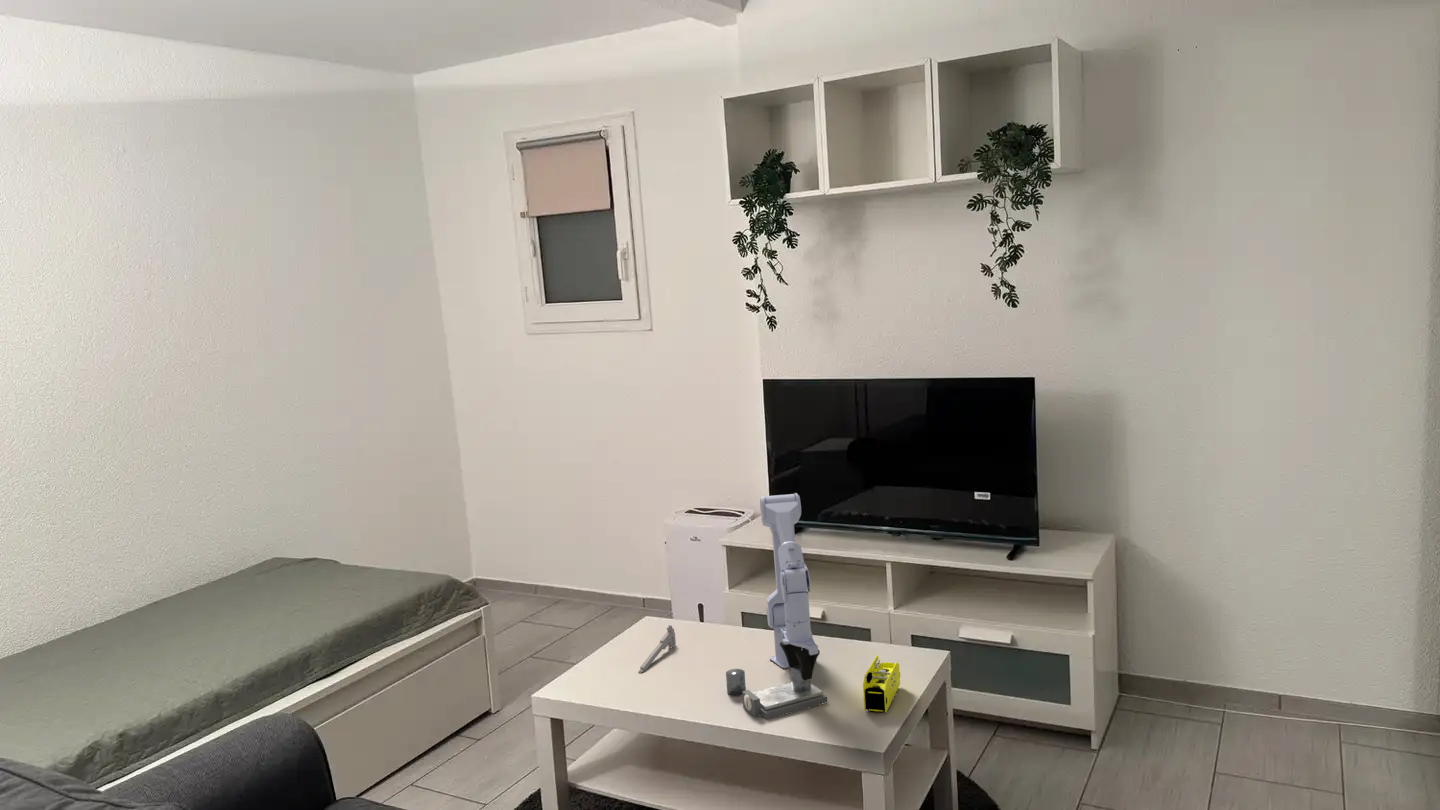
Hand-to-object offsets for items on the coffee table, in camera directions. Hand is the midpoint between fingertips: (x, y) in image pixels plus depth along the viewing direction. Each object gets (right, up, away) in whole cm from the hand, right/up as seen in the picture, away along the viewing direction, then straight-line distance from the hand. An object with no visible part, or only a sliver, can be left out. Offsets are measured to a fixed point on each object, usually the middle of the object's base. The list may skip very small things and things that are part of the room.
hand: (801, 674), depth 244 cm
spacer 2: (0, -3, 0) cm, 3 cm away
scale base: (-4, -6, -1) cm, 7 cm away
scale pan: (-4, -5, -1) cm, 6 cm away
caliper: (-36, -5, +33) cm, 48 cm away
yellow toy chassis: (+19, -5, -3) cm, 20 cm away
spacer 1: (-15, -6, +7) cm, 18 cm away
